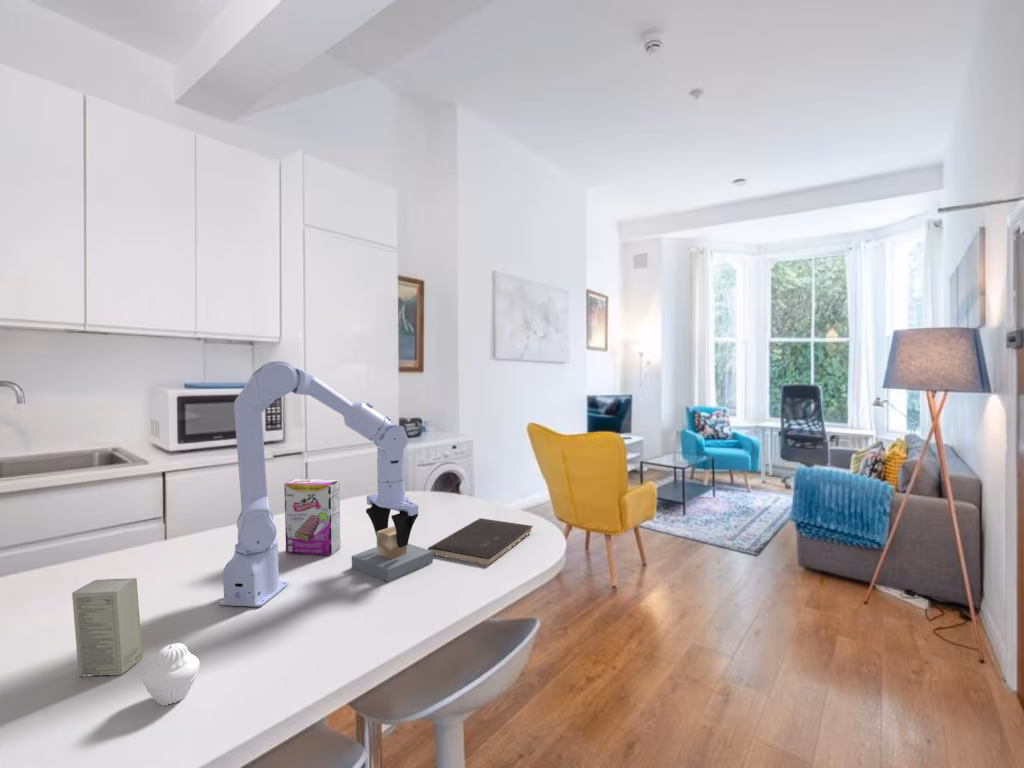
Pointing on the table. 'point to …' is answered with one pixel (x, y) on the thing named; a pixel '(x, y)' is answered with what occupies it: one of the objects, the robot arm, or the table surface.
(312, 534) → the candy bar box
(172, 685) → the muffin
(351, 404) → the robot arm
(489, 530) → the hardcover book
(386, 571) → the slate base
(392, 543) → the oak block
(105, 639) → the skincare box
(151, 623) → the table surface
